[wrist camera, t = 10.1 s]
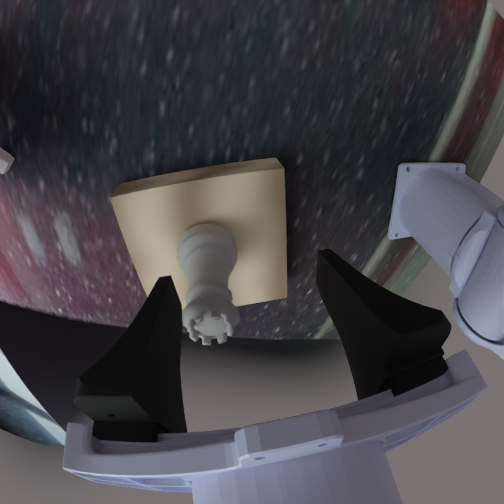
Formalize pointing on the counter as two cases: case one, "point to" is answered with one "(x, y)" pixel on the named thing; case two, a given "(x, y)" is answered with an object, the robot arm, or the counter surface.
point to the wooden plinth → (212, 212)
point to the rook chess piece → (208, 282)
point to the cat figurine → (5, 161)
